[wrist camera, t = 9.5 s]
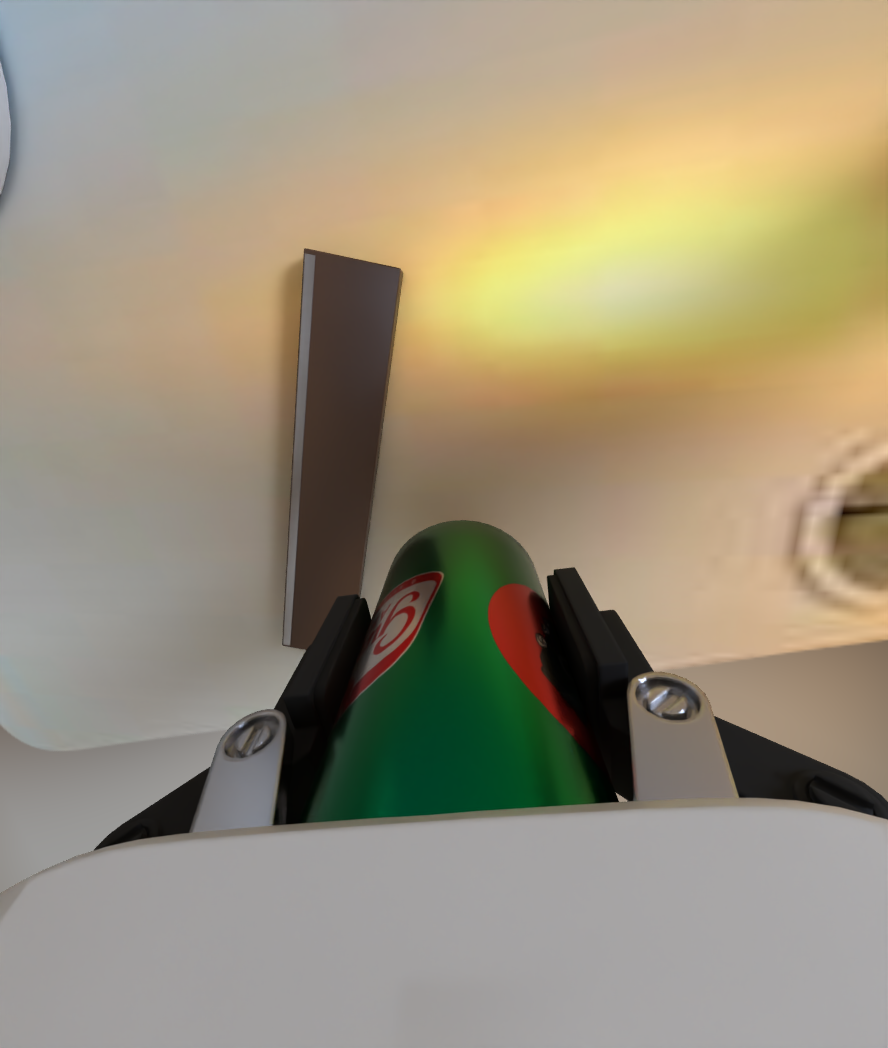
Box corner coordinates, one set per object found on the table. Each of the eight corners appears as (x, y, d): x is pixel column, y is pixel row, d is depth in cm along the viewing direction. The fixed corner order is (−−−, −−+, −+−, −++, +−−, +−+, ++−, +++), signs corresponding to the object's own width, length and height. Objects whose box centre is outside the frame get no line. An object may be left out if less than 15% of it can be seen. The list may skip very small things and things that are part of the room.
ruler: (287, 637, 25) (281, 647, 24) (310, 252, 17) (302, 247, 17) (353, 649, 25) (349, 659, 24) (403, 272, 17) (400, 267, 17)
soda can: (415, 493, 13) (163, 1164, 2) (559, 542, 14) (993, 1328, 2) (374, 617, 15) (116, 1340, 4) (502, 658, 15) (605, 1420, 4)
